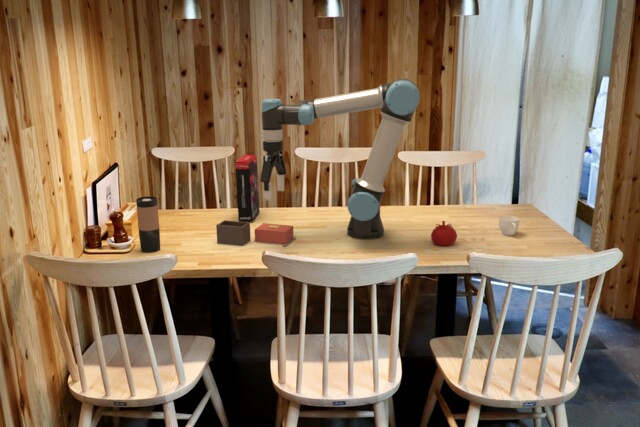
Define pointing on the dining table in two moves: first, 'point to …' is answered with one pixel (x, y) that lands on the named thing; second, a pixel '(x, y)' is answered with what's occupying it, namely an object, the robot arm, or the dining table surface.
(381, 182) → the robot arm
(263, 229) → the lid
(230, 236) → the lacquer box
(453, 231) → the pomegranate
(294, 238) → the mat
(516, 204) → the dining table surface
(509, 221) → the cup
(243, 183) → the graphics card box
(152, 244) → the travel mug
